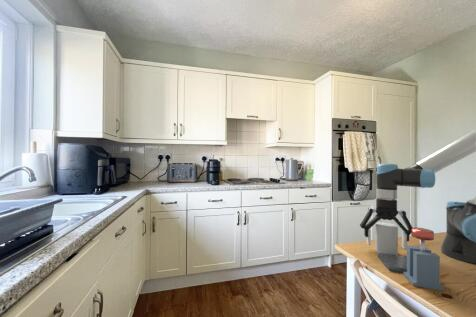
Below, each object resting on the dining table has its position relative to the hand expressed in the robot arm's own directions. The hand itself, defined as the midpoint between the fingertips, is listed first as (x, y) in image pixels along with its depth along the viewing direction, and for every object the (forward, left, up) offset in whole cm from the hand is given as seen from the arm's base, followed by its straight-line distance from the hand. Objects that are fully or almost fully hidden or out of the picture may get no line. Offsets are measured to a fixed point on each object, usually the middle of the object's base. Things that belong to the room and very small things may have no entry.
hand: (385, 246), depth 94 cm
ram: (-3, +23, +5) cm, 24 cm away
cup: (0, 0, -3) cm, 3 cm away
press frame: (-3, +23, -3) cm, 23 cm away
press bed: (-1, +12, -3) cm, 12 cm away
